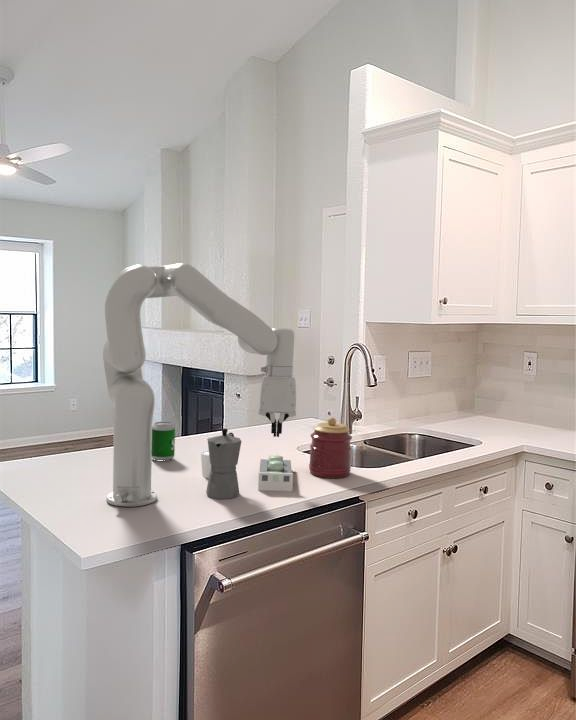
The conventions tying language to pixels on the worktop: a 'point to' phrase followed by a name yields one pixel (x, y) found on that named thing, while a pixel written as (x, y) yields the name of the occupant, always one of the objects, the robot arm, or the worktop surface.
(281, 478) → the button board
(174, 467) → the worktop surface
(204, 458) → the white cup
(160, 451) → the soda can
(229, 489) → the coffeepot
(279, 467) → the button middle
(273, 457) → the button far
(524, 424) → the worktop surface
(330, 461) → the canister
